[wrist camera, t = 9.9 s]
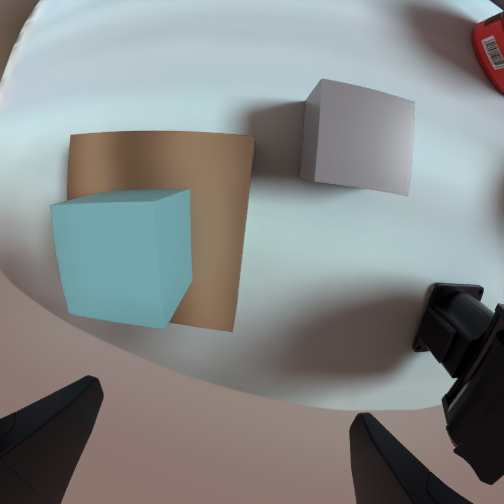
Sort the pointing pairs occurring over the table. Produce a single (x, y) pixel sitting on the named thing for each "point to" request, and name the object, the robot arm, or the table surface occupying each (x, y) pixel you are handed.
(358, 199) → the table surface
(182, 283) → the teal cube
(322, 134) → the gray cube
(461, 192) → the table surface
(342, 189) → the table surface
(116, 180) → the walnut base block
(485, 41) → the canned food
